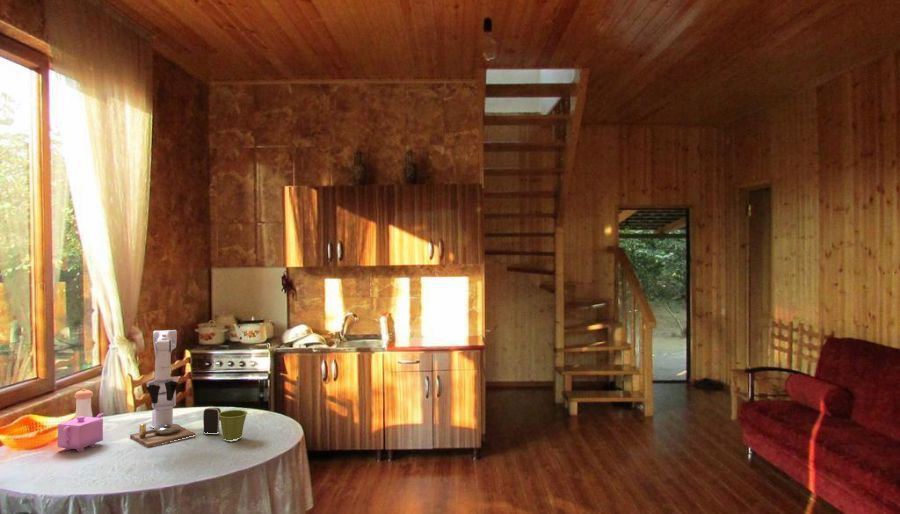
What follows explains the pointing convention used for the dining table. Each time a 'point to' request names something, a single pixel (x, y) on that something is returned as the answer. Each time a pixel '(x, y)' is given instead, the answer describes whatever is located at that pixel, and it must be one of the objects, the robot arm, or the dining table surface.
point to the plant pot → (232, 423)
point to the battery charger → (211, 420)
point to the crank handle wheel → (159, 429)
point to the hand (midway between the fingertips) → (162, 402)
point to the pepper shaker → (83, 403)
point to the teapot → (80, 432)
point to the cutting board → (161, 437)
